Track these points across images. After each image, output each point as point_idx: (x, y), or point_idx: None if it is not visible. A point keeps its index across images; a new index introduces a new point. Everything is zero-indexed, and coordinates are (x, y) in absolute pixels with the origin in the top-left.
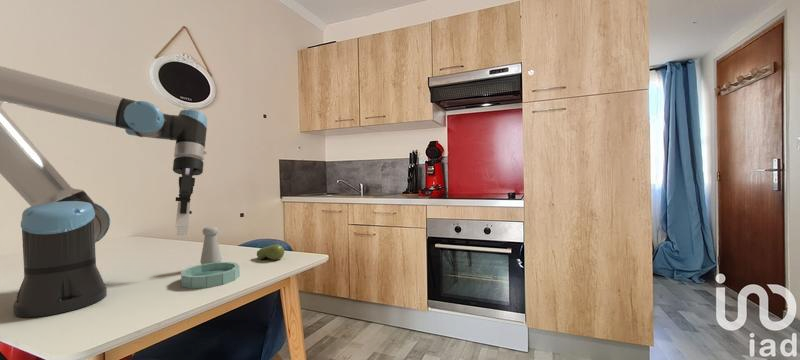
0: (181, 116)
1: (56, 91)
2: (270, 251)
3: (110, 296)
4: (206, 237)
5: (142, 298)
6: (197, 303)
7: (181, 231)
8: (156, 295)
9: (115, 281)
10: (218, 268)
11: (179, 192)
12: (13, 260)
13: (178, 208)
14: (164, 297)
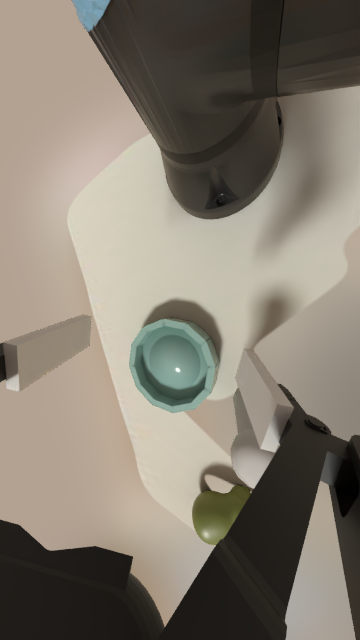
0: None
1: None
2: (201, 503)
3: (204, 225)
4: (249, 428)
5: (159, 265)
6: (99, 313)
7: (242, 367)
8: (158, 282)
9: (316, 225)
10: (202, 389)
11: (216, 552)
12: None
13: (32, 334)
14: (143, 289)
